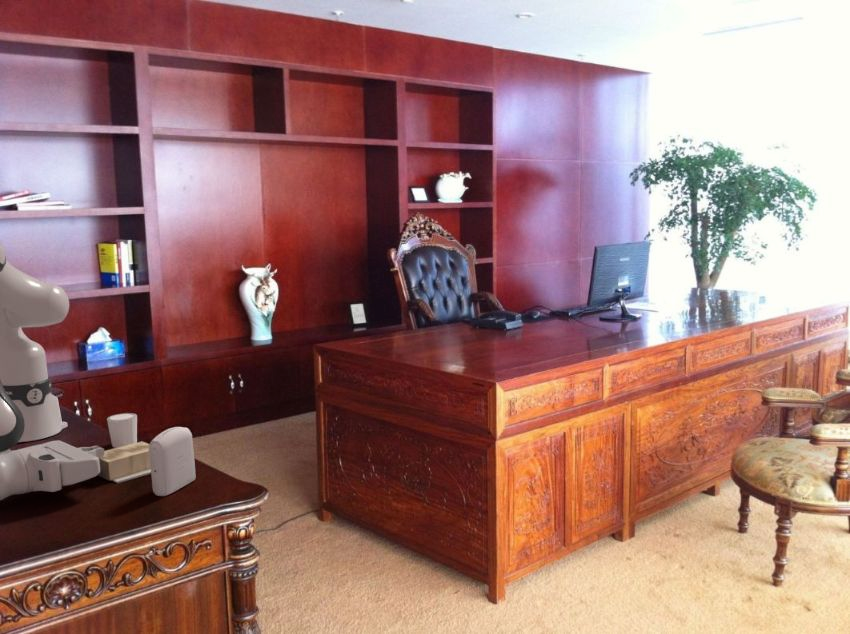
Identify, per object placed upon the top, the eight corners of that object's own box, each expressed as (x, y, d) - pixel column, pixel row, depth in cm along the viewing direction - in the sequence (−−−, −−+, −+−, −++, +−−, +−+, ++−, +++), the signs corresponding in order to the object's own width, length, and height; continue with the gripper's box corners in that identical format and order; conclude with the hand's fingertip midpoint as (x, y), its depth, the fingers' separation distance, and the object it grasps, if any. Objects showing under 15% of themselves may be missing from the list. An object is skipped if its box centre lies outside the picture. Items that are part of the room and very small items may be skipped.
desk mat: (92, 471, 178) (91, 469, 178) (147, 455, 187) (146, 454, 187) (117, 483, 170) (117, 481, 170) (173, 466, 179) (173, 465, 179)
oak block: (90, 454, 175) (141, 441, 184) (91, 472, 176) (143, 458, 184) (106, 462, 170) (159, 448, 178) (108, 480, 170) (161, 465, 179)
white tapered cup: (115, 450, 192) (112, 422, 191) (105, 444, 197) (102, 416, 196) (144, 444, 196) (141, 416, 195) (133, 438, 201) (130, 411, 200)
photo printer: (167, 497, 161) (161, 437, 159) (149, 495, 162) (144, 436, 160) (199, 480, 170) (194, 423, 168) (182, 478, 172) (177, 421, 170)
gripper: (16, 471, 170) (81, 454, 180) (57, 494, 157) (124, 474, 166) (13, 443, 169) (78, 427, 179) (53, 463, 156) (122, 445, 165)
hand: (101, 450), depth 173 cm, fingers closed
